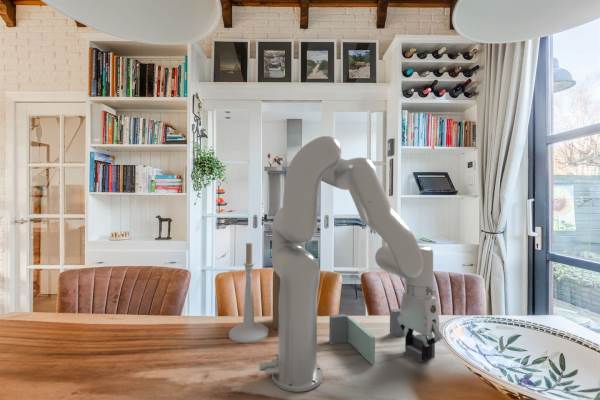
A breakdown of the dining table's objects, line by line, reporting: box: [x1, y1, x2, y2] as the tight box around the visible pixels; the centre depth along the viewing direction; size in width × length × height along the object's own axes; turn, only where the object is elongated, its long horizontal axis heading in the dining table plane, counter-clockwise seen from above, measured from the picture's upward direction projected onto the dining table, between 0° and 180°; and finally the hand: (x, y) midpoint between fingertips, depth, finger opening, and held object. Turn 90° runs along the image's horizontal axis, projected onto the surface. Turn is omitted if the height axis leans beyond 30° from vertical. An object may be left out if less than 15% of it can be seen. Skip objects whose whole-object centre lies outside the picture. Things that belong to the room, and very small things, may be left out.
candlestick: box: [228, 242, 269, 344], centre depth 98 cm, size 13×13×30 cm
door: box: [346, 315, 376, 365], centre depth 87 cm, size 15×1×7 cm, turn 17°
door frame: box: [328, 308, 405, 345], centre depth 96 cm, size 26×2×8 cm, turn 104°
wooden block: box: [272, 269, 280, 330], centre depth 106 cm, size 10×10×20 cm
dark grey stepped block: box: [405, 333, 436, 363], centre depth 85 cm, size 6×5×4 cm
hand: (418, 353), depth 85 cm, fingers closed on dark grey stepped block, 5 cm apart
